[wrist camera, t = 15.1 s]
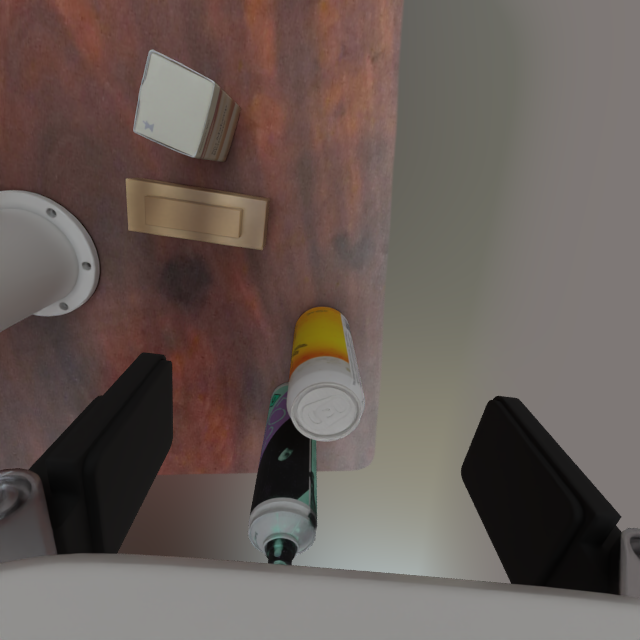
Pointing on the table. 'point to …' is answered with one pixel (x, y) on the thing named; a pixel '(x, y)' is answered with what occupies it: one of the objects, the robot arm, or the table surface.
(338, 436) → the beer can
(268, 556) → the spray can
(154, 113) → the white box
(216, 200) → the tan rectangular block
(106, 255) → the table surface
